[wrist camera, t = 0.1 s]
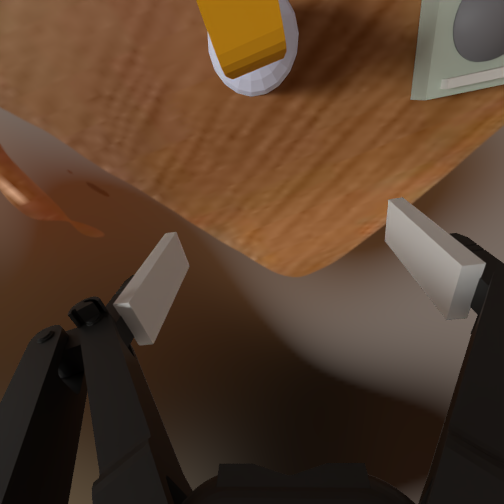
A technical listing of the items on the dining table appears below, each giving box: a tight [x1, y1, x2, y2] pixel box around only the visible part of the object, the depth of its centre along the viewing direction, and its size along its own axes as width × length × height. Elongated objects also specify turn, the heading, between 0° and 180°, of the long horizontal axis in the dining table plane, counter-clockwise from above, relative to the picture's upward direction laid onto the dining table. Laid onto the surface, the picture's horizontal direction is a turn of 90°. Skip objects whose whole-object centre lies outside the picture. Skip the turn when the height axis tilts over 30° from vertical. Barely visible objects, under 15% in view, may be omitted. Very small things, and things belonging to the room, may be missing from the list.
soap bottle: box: [196, 0, 299, 96], centre depth 23 cm, size 9×9×25 cm
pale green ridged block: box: [411, 0, 504, 100], centre depth 28 cm, size 14×12×6 cm
